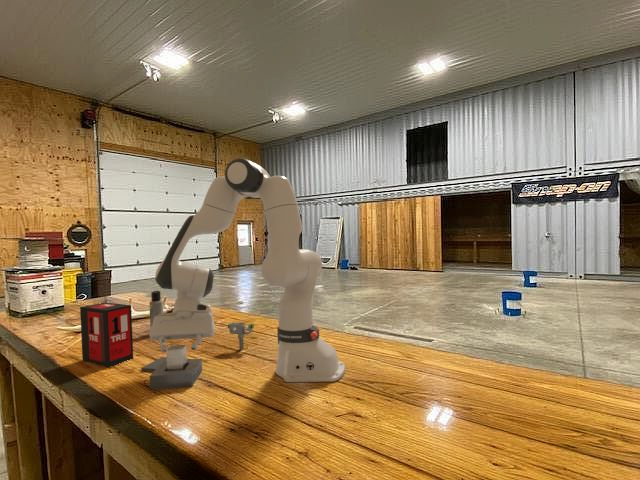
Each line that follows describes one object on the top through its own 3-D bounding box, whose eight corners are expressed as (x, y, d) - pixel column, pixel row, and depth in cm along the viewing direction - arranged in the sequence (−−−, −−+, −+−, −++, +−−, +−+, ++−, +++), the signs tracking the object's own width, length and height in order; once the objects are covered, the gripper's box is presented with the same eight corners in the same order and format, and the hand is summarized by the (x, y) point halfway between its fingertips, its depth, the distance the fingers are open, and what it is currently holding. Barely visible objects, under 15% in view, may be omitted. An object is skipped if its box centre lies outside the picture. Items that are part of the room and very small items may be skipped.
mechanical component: (252, 350, 129) (251, 324, 128) (227, 349, 131) (226, 324, 131) (255, 348, 132) (254, 322, 131) (231, 347, 134) (230, 322, 133)
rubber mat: (186, 361, 120) (186, 358, 120) (167, 372, 110) (167, 369, 110) (162, 359, 122) (162, 357, 122) (141, 370, 113) (141, 367, 113)
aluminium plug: (187, 376, 107) (186, 344, 107) (183, 382, 103) (181, 349, 102) (172, 377, 107) (171, 345, 106) (167, 383, 102) (166, 350, 102)
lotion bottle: (166, 331, 159) (165, 289, 159) (159, 335, 154) (158, 292, 153) (155, 332, 160) (153, 290, 159) (148, 335, 154) (146, 292, 154)
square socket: (202, 370, 111) (201, 358, 111) (192, 386, 99) (191, 373, 99) (164, 373, 110) (163, 361, 110) (150, 389, 98) (149, 376, 98)
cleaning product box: (133, 358, 124) (131, 305, 124) (108, 367, 117) (106, 310, 116) (107, 352, 132) (104, 302, 132) (82, 360, 124) (80, 306, 124)
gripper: (152, 309, 113) (140, 347, 103) (214, 305, 115) (209, 343, 105) (157, 318, 117) (147, 356, 108) (217, 315, 119) (212, 352, 110)
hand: (178, 350), depth 107 cm, fingers open, 8 cm apart
